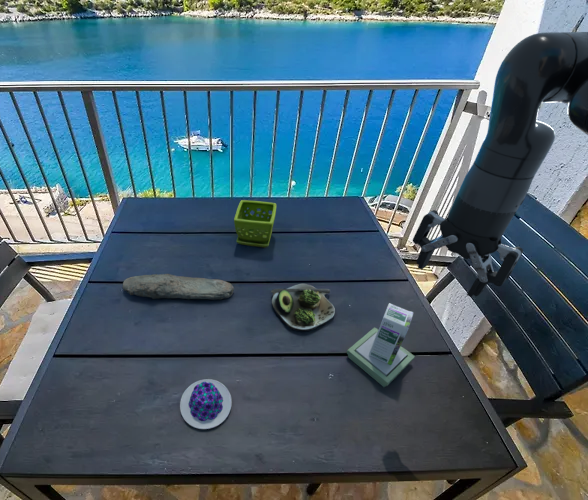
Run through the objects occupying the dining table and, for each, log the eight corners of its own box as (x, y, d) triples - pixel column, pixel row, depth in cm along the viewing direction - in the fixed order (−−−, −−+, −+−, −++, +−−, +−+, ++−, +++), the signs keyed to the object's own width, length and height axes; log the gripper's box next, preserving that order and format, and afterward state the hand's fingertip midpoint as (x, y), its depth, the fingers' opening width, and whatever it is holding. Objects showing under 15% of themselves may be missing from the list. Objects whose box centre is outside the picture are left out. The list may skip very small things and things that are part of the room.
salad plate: (313, 278, 115) (315, 267, 112) (349, 315, 103) (352, 304, 100) (262, 297, 108) (263, 286, 106) (294, 339, 96) (296, 328, 93)
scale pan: (405, 358, 89) (407, 354, 88) (385, 378, 85) (386, 374, 84) (375, 335, 95) (376, 332, 94) (354, 353, 90) (355, 349, 89)
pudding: (239, 419, 79) (239, 407, 76) (187, 438, 75) (185, 427, 72) (222, 374, 88) (221, 362, 84) (175, 390, 84) (172, 378, 81)
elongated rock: (232, 308, 106) (234, 286, 114) (232, 296, 103) (234, 274, 111) (118, 299, 107) (128, 278, 115) (115, 286, 104) (126, 266, 112)
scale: (411, 363, 90) (415, 356, 88) (384, 389, 84) (388, 383, 83) (372, 333, 97) (374, 327, 96) (345, 356, 92) (347, 349, 90)
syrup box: (367, 355, 88) (382, 317, 79) (374, 339, 92) (389, 301, 83) (391, 366, 86) (409, 328, 77) (396, 349, 90) (414, 311, 80)
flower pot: (240, 226, 138) (240, 198, 131) (275, 230, 136) (277, 202, 128) (233, 248, 128) (232, 219, 120) (270, 252, 126) (273, 223, 118)
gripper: (427, 185, 52) (396, 267, 62) (536, 229, 43) (479, 315, 53) (451, 171, 56) (418, 251, 66) (556, 209, 47) (499, 293, 57)
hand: (445, 280), depth 59 cm, fingers open, 8 cm apart
